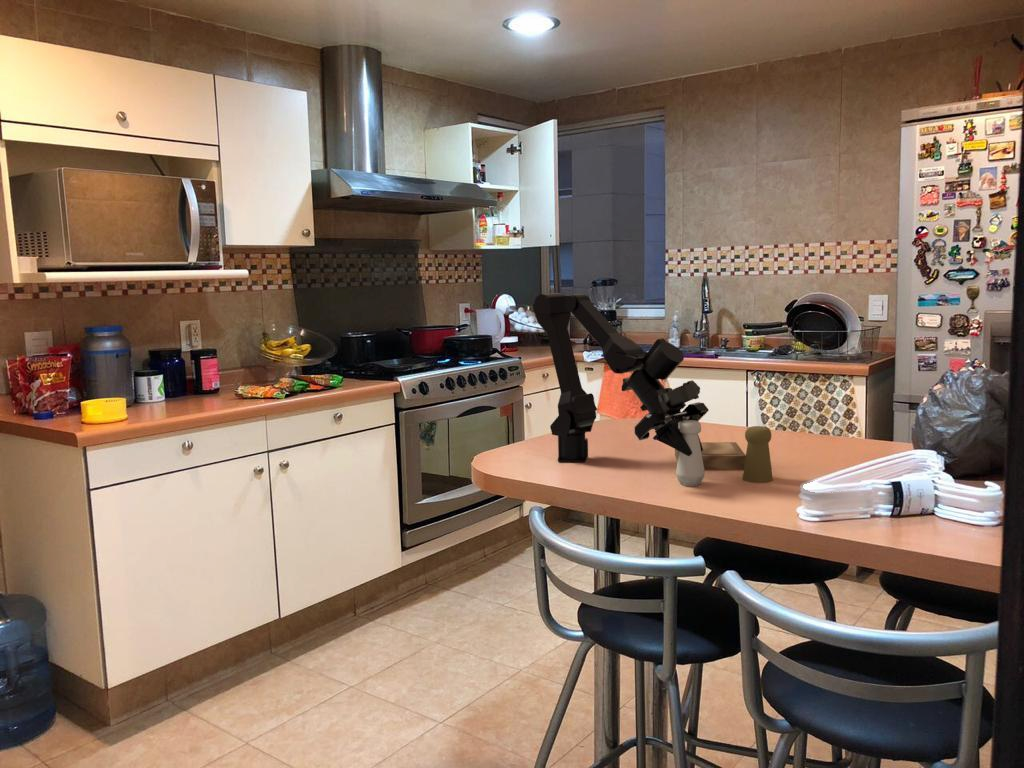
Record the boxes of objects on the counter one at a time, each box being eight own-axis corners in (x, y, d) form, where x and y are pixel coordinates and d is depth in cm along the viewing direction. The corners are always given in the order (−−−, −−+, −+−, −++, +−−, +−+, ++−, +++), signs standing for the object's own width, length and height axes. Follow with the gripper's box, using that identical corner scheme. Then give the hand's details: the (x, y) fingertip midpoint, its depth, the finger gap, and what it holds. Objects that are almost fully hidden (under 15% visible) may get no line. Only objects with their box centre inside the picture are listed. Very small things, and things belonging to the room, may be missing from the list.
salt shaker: (705, 487, 162) (705, 424, 161) (675, 487, 164) (675, 423, 162) (704, 480, 168) (704, 418, 166) (675, 479, 169) (675, 418, 167)
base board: (680, 469, 178) (680, 455, 177) (674, 455, 191) (674, 441, 191) (746, 469, 176) (746, 455, 176) (735, 454, 190) (735, 441, 189)
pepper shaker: (768, 484, 164) (769, 430, 162) (738, 480, 167) (739, 428, 166) (776, 477, 169) (777, 425, 167) (747, 474, 172) (747, 423, 171)
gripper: (645, 373, 159) (692, 436, 153) (701, 364, 172) (746, 422, 165) (615, 409, 166) (658, 470, 160) (670, 397, 179) (713, 454, 172)
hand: (696, 453), depth 164 cm, fingers closed on salt shaker, 3 cm apart
